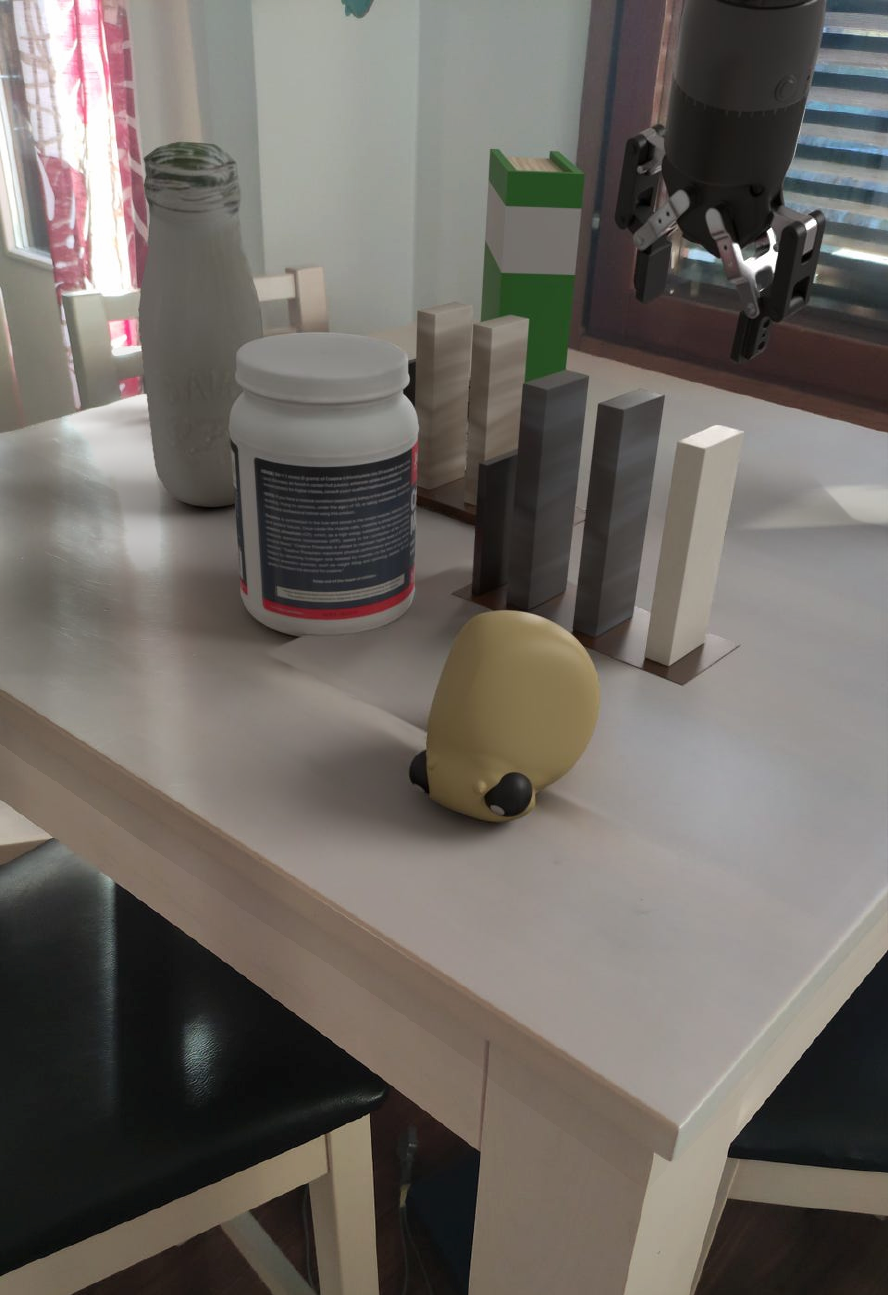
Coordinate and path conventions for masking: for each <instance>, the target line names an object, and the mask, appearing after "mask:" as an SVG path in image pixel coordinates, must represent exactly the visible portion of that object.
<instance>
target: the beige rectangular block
mask: <svg viewBox="0 0 888 1295" xmlns="http://www.w3.org/2000/svg"><path fill="white" fill-rule="evenodd" d="M744 436H745V432H744V431H743V430H740V429H737V428H732V427H729V426H724V425H720V424H715V425H712V426H711V427H708V428H706V429H703V430H701V431H699V432H697V433H694V434H691V435H690V436H687V437H685V438H683V439H680V440H678V441H677V442H676V449H675V455H674V461H673V468H672V473H671V481H670V486H669V494H668V500H667V506H666V513H665V520H664V526H663V531H662V540H661V545H660V552H659V556H658V558H659V559H658V564H657V570H656V577H655V583H654V589H653V597H652V604H651V610H650V612H651V615H650V622H649V628H648V635H647V641H646V648H645V654H644V657H645V658H648V659H650V660H653V661H655V662H658V663H661V664H663V665H666V666H670V665H672V664H673V663H675V662H676V661H678V660H679V659H681V658H682V657H684V656H685V655H687V654H688V653H690V652H691V651H693V650H694V649H696V648H697V647H699V646H700V645H702V644H703V643H704V642H705V639H706V633H708V628H709V624H710V623H709V621H710V617H711V612H712V606H713V600H714V595H715V592H716V586H717V581H718V580H717V579H718V574H719V570H720V569H719V568H720V564H721V558H722V554H723V548H724V542H725V537H726V531H727V525H728V521H729V516H730V510H731V504H732V499H733V494H734V489H735V483H736V478H737V474H738V467H739V461H740V456H741V451H742V445H743V441H744Z"/></svg>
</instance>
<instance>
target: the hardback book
mask: <svg viewBox="0 0 888 1295" xmlns="http://www.w3.org/2000/svg"><path fill="white" fill-rule="evenodd" d="M548 156H549V157H548V158H545V157H544V158H542V157H518V156H517V157H516V156H514V157H513V156H505V155H504V154H503V152H502V150H500V148H489V163H488V178H487V179H488V182H487V197H486V199H487V200H486V216H485V217H486V218H485V236H484V254H483V270H482V288H481V290H482V291H481V306H480V307H481V308H480V322H483V321H487V320H491V319H495V318H499V317H503V316H507V315H514V316H519V317H523V318H527V319H529V328H528V341H527V354H526V367H525V380H524V383H526V382H529V381H532V380H535V379H538V378H542V377H545V376H548V375H551V374H554V373H557V372H560V371H563V370H567V362H568V361H567V360H568V352H569V351H568V350H569V340H570V330H571V322H572V320H571V319H572V310H573V302H574V301H573V300H574V290H575V279H576V269H577V259H578V248H579V239H580V228H581V219H582V218H581V217H582V208H583V199H584V198H583V197H584V188H585V177H586V176H585V175H586V174H585V173H584V172H583V171H582V170H581V169H579V167H577V166H576V165H575V164H574V163H573V162H572V161H570V160H569V159H568V158H567V157H566V156H565V155H564V154H562V153H561V152H560V151H558V150H549V155H548Z"/></svg>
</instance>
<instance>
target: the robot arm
mask: <svg viewBox="0 0 888 1295" xmlns="http://www.w3.org/2000/svg"><path fill="white" fill-rule="evenodd" d="M826 9H827V0H685V2H684V5H683V9H682V14H681V19H680V23H679V31H678V38H677V45H676V50H675V51H676V52H675V58H674V59H675V60H674V66H673V73H672V80H671V87H670V95H669V103H668V111H667V116H666V122H665V123H666V124H665V126H664V125H663V124H662V123H657V124H655V125H652V126H651V127H648V128H646V129H644V130H643V131H640V132H639V133H637V134H636V135H634V136H632V137H629V138H628V139H627V140H626V143H625V148H624V155H623V160H622V168H621V173H620V179H619V186H618V193H617V199H616V204H615V211H614V222H615V225H616V227H617V228H618V229H620V230H623V231H624V230H626V229H628V231H629V232H630V233H631V235H633V237H632V240H633V241H632V242H633V244H634V247H635V248H636V256H635V257H636V258H635V264H634V271H633V272H634V273H633V279H632V281H633V288H634V289H635V295H634V296H635V300H636V301H638V302H639V303H641V304H642V305H648V304H649V303H651V302H652V301H654V300H656V299H658V298H659V297H661V296H662V295H663V294H664V293H665V291H666V287H667V286H666V285H667V280H668V275H669V274H668V273H669V267H670V262H671V253H672V247H673V242H671V241H670V240H668V237H670V236H671V235H672V234H673V233H674V232H675V231H676V230H678V229H679V230H680V231H681V232H682V233H681V238H683V239H685V240H686V241H688V242H690V243H692V244H697V245H701V247H703V249H705V250H706V251H707V253H708V254H710V255H712V256H713V257H715V258H717V259H718V260H720V261H721V263H722V266H723V270H724V272H725V276H726V279H727V281H728V282H729V283H731V284H734V285H735V287H736V290H737V293H738V296H739V300H740V304H741V307H742V310H741V311H740V312H739V315H738V319H737V324H736V328H735V333H734V338H733V342H732V346H731V351H730V355H729V359H730V360H731V361H732V362H734V363H735V364H737V365H738V366H741V365H743V364H744V363H745V364H746V363H747V362H749V361H750V360H753V359H754V358H755V357H757V356H758V355H760V354H762V353H763V352H764V351H765V350H766V349H767V347H768V345H769V341H770V337H771V333H772V329H773V325H774V323H775V324H777V323H778V324H779V323H780V322H782V321H784V320H785V319H787V318H788V317H790V316H792V315H794V314H795V313H797V312H798V311H800V310H802V309H803V308H804V307H806V306H807V305H808V304H810V299H811V295H812V290H813V285H814V282H815V281H814V280H815V277H816V272H817V266H818V262H819V257H820V253H821V248H822V243H823V238H824V235H825V230H826V224H827V219H826V215H825V214H824V212H822V211H821V210H820V209H813V210H811V211H810V212H808V213H807V214H802V213H801V212H798V211H796V210H794V209H792V208H790V207H789V206H786V204H785V197H784V196H785V195H784V182H785V178H786V176H787V174H788V171H789V169H790V167H791V165H792V162H793V160H794V157H795V154H796V150H797V147H798V142H799V137H800V133H801V129H802V124H803V120H804V115H805V112H806V107H807V103H808V100H809V96H810V90H811V87H812V82H813V78H814V73H815V69H816V64H817V61H818V56H819V52H820V48H821V44H822V39H823V33H824V28H825V20H826V18H825V17H826ZM661 176H662V179H663V183H664V185H665V189H666V193H667V196H668V200H667V201H666V202H664V203H663V205H661V206H660V207H659V208H658V209H656V211H655V207H656V206H655V205H656V200H657V194H658V190H659V185H660V179H661ZM752 244H754V247H755V252H754V255H753V256H751V257H750V258H748V259H747V260H745V259H744V257H743V253H742V251H743V250H745V249H747V248H748V247H750V246H751V245H752ZM756 275H757V276H758V280H759V283H760V287H761V290H759V287H758V284H757V280H756Z"/></svg>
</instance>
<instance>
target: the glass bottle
mask: <svg viewBox="0 0 888 1295" xmlns="http://www.w3.org/2000/svg"><path fill="white" fill-rule="evenodd" d="M143 162H144V170H145V178H144V181H143V190H144V196H145V199H146V202H147V204H148V212H149V224H148V230H147V232H148V236H147V242H146V244H147V253H146V258H145V262H144V267H143V273H142V277H141V285H140V290H139V294H140V295H139V303H138V325H139V326H138V328H139V329H138V330H139V339H140V348H141V358H142V368H143V376H144V385H145V394H146V403H147V412H148V419H149V428H150V437H151V444H152V453H153V461H154V467H155V471H156V475H157V477H158V479H159V481H160V482H161V484H162V486H163V487H164V489H165V490H166V491H167V492H168V493H169V494H170V495H171V496H172V497H174V498H175V499H177V500H178V501H181V502H183V503H185V504H187V505H191V506H195V507H204V508H219V507H227V506H231V505H235V498H234V484H233V470H232V455H231V442H230V432H229V418H230V413H231V409H232V407H233V405H234V403H235V401H236V400H237V398H238V397H239V396H240V395H241V394H242V393H243V392H244V391H243V388H242V386H240V385H239V384H238V383H237V382H236V380H235V373H236V371H237V366H236V353H237V351H238V350H239V349H240V347H242V346H243V345H244V344H246V343H248V342H251V341H253V340H256V339H260V338H264V329H263V317H262V316H263V315H262V308H261V304H260V299H259V294H258V290H257V287H256V284H255V281H254V276H253V271H252V269H251V266H250V261H249V257H248V253H247V250H246V247H245V245H244V241H243V234H242V226H241V220H240V219H241V218H240V208H241V202H242V192H241V185H240V179H239V175H238V174H239V173H238V168H237V162H236V160H235V159H233V158H232V156H231V155H230V154H229V153H228V152H227V151H226V150H225V149H223V148H222V147H219V145H218V144H215V143H210V142H209V143H207V142H192V141H175V142H171V143H168V144H164V145H161V146H157V147H155V149H153V150H152V151H150V153H148V154H147V155H146V156H144V157H143Z"/></svg>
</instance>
